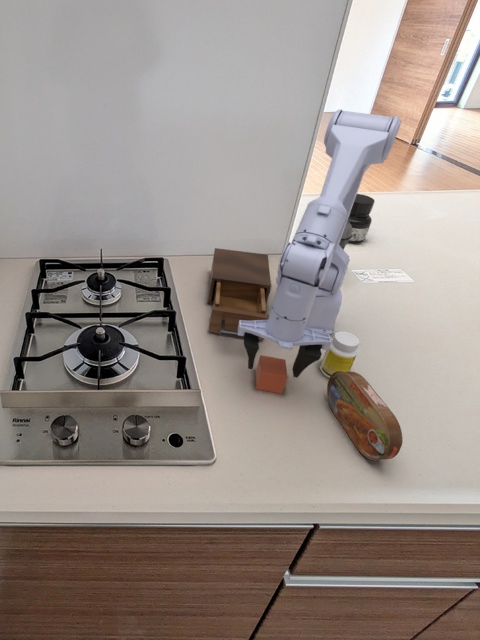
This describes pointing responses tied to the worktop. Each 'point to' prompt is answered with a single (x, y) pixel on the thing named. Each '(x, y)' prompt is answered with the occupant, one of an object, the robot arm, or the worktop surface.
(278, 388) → the block
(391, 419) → the tin
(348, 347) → the supplement bottle
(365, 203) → the ink bottle
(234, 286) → the drawer
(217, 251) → the cabinet
